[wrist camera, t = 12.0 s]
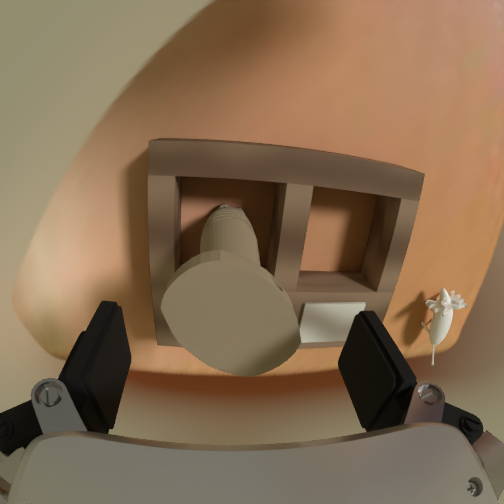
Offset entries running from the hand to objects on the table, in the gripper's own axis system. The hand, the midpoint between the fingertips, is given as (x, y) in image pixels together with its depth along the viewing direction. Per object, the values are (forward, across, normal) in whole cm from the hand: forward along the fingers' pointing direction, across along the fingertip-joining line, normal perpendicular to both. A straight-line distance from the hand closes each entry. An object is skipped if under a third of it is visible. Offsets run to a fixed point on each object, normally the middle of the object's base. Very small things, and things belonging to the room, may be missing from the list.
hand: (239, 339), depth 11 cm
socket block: (+16, -5, +3) cm, 17 cm away
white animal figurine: (+16, -27, +12) cm, 33 cm away
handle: (+16, 0, +1) cm, 16 cm away
